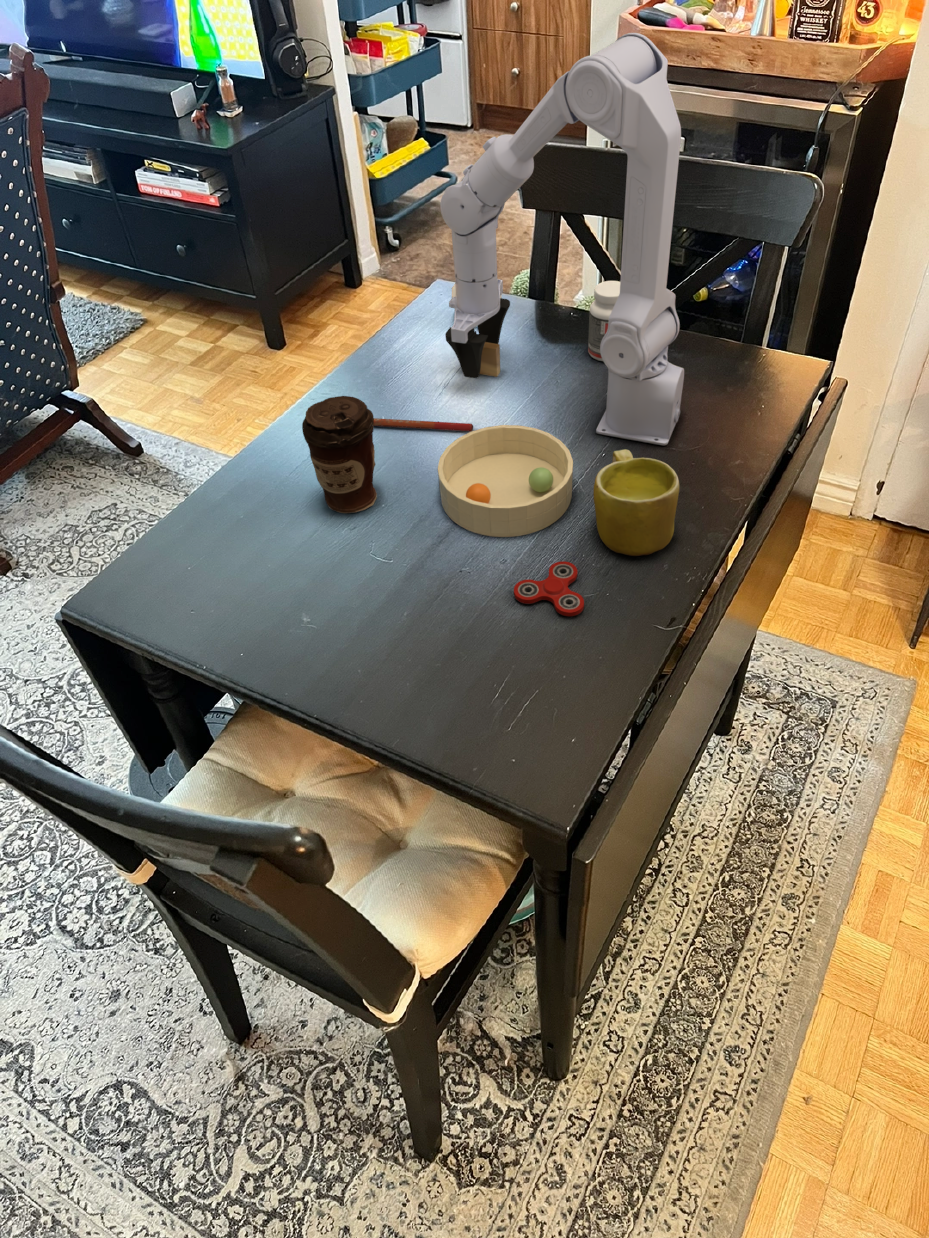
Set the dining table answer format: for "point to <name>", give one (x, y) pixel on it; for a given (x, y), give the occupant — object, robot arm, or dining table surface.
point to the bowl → (505, 480)
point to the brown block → (490, 359)
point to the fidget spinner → (553, 589)
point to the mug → (635, 504)
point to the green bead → (540, 479)
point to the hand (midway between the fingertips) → (480, 363)
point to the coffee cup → (342, 451)
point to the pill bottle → (601, 314)
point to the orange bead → (478, 493)
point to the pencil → (423, 424)
